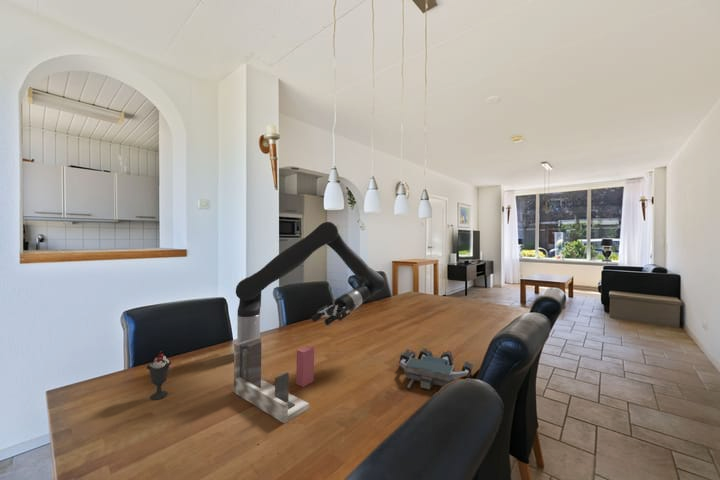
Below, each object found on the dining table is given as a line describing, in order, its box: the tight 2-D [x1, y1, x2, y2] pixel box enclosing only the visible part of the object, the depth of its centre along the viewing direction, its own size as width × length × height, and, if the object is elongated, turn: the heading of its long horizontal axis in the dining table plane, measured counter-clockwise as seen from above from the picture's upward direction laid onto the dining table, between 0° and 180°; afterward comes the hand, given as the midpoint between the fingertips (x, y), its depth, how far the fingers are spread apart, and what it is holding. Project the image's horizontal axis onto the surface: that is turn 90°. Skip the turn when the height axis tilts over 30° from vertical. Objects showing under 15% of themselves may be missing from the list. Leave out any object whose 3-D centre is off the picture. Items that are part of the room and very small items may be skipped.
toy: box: [398, 348, 474, 390], centre depth 113 cm, size 27×9×30 cm
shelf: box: [233, 336, 310, 424], centre depth 94 cm, size 26×9×16 cm, turn 53°
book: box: [295, 345, 315, 388], centre depth 105 cm, size 4×5×12 cm
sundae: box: [146, 350, 172, 401], centre depth 95 cm, size 7×7×15 cm
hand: (318, 321), depth 111 cm, fingers open, 8 cm apart
